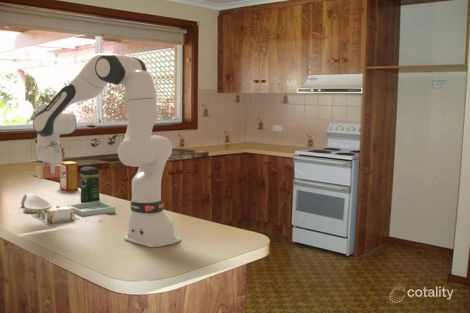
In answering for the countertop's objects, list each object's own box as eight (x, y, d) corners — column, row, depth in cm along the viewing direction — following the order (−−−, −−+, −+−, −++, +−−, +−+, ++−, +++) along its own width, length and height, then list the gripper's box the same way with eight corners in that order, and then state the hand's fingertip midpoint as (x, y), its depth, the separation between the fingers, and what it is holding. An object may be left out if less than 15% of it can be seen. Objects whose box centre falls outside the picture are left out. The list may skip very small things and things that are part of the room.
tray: (115, 213, 220) (115, 206, 220) (82, 218, 209) (82, 211, 209) (99, 206, 232) (99, 200, 231) (67, 211, 221) (67, 205, 221)
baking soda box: (78, 190, 271) (77, 162, 269) (67, 191, 267) (66, 163, 265) (70, 187, 278) (70, 160, 276) (59, 188, 274) (59, 161, 272)
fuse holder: (80, 221, 204) (80, 207, 203) (47, 227, 195) (47, 212, 194) (62, 213, 218) (62, 200, 217) (31, 217, 209) (30, 204, 208)
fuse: (62, 176, 210) (62, 165, 209) (40, 178, 203) (39, 167, 202) (59, 175, 213) (59, 164, 212) (36, 177, 206) (36, 166, 205)
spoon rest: (56, 213, 218) (55, 198, 217) (29, 217, 210) (29, 201, 209) (37, 204, 236) (37, 190, 235) (12, 207, 228) (12, 193, 227)
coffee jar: (102, 203, 239) (101, 167, 237) (88, 206, 233) (87, 168, 231) (92, 200, 245) (91, 164, 243) (78, 202, 239) (77, 166, 237)
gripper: (65, 142, 200) (66, 174, 202) (47, 138, 215) (48, 168, 217) (50, 143, 196) (51, 176, 198) (33, 139, 211) (34, 170, 213)
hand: (49, 172), depth 208 cm, fingers closed on fuse, 4 cm apart
